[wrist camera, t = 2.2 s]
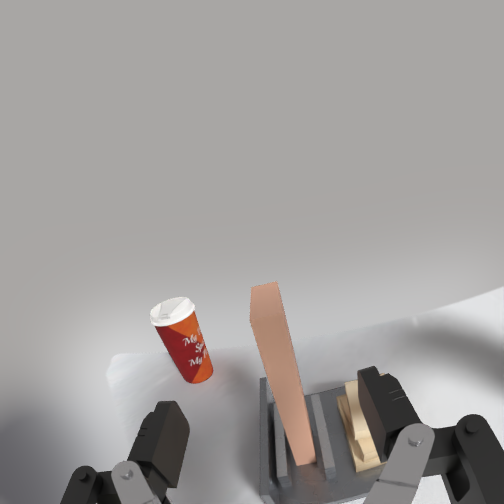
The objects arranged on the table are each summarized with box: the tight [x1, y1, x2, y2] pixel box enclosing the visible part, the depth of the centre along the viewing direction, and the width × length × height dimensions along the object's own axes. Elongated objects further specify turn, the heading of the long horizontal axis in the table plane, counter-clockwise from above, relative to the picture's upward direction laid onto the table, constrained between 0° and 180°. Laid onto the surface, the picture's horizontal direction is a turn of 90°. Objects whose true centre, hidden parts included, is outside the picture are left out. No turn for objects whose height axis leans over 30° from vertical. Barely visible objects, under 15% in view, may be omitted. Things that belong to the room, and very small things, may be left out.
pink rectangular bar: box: [250, 282, 317, 466], centre depth 24 cm, size 6×2×20 cm, turn 0°
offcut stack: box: [336, 373, 387, 472], centre depth 25 cm, size 11×6×5 cm, turn 179°
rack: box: [260, 377, 386, 504], centre depth 26 cm, size 17×16×6 cm
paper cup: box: [150, 297, 213, 383], centre depth 45 cm, size 8×8×14 cm
